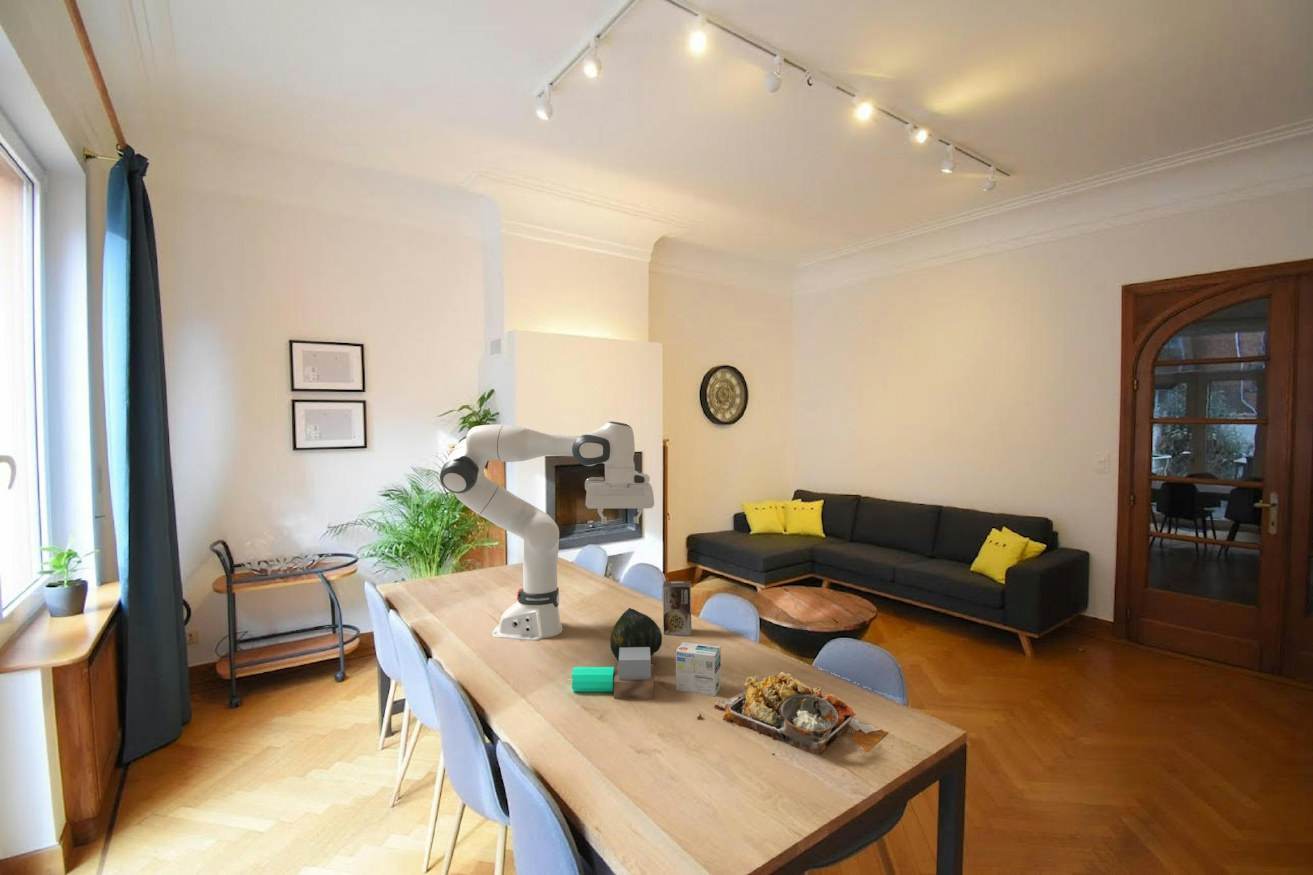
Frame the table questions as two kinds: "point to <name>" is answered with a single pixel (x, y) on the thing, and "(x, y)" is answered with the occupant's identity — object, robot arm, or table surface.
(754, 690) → the food tray
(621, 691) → the tower base block
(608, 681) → the candle
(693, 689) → the light bulb box
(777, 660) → the table surface
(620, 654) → the tower top block
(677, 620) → the coffee box
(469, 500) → the robot arm
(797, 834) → the table surface
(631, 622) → the squash
